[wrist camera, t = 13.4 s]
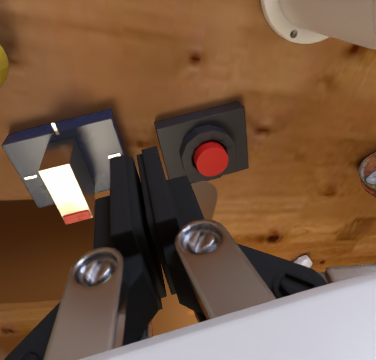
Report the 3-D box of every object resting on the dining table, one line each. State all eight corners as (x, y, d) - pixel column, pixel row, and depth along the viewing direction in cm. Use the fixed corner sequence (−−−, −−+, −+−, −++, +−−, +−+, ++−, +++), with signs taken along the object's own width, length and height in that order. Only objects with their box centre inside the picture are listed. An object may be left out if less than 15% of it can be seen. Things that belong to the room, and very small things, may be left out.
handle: (47, 142, 34) (37, 172, 29) (74, 136, 35) (69, 164, 30) (71, 192, 38) (65, 226, 33) (95, 186, 39) (93, 219, 34)
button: (222, 137, 38) (226, 143, 37) (225, 164, 40) (230, 171, 39) (190, 145, 38) (194, 152, 36) (195, 172, 40) (199, 180, 39)
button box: (238, 101, 40) (249, 112, 37) (243, 160, 45) (253, 175, 42) (154, 122, 39) (158, 135, 36) (168, 180, 44) (173, 196, 41)
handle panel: (108, 99, 36) (108, 109, 34) (134, 177, 43) (135, 190, 40) (3, 125, 35) (-5, 137, 33) (46, 200, 42) (42, 215, 39)
